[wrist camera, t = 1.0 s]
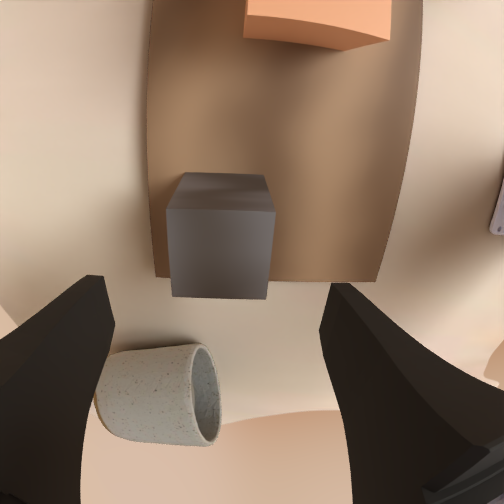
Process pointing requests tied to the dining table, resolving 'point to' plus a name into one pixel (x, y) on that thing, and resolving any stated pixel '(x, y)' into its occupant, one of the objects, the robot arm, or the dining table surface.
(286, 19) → the cube
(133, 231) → the dining table surface
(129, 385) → the ceramic mug
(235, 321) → the dining table surface
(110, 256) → the dining table surface
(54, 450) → the robot arm
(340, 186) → the thin brown board
